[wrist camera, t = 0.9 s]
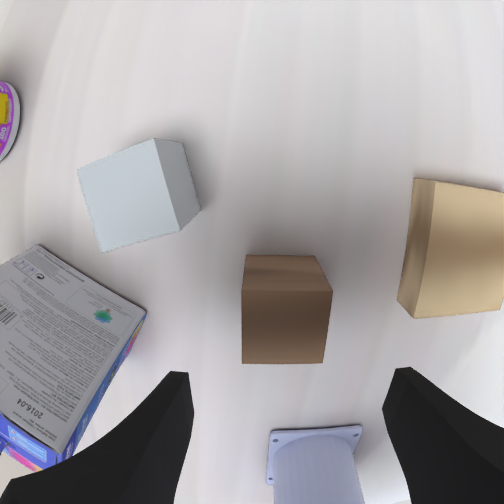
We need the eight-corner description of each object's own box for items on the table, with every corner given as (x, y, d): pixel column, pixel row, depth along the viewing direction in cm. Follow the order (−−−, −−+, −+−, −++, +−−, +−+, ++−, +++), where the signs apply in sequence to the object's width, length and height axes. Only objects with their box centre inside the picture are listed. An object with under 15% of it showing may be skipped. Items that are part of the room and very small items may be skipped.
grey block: (201, 210, 17) (179, 230, 13) (139, 227, 18) (101, 252, 13) (182, 142, 16) (153, 138, 11) (120, 164, 17) (76, 169, 12)
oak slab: (478, 293, 19) (499, 309, 16) (394, 297, 19) (413, 318, 16) (496, 190, 17) (522, 197, 14) (410, 177, 17) (435, 182, 14)
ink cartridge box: (26, 299, 20) (-92, 403, 6) (36, 240, 18) (-120, 334, 4) (126, 363, 21) (44, 523, 7) (149, 309, 19) (38, 497, 5)
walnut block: (308, 315, 19) (322, 363, 14) (245, 315, 19) (241, 363, 15) (314, 255, 18) (332, 290, 13) (245, 254, 18) (241, 290, 13)
